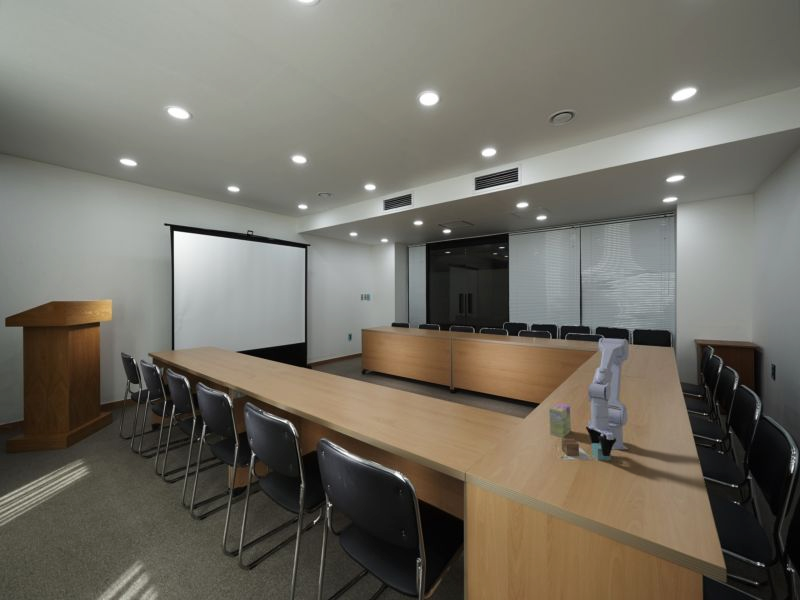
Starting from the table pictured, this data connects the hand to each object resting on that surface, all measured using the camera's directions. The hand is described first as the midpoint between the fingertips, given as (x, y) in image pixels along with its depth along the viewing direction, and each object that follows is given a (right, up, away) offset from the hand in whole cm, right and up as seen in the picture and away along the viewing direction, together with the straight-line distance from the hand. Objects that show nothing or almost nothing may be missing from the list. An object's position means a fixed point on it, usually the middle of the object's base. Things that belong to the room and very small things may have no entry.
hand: (600, 451), depth 123 cm
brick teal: (0, -3, 0) cm, 3 cm away
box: (-4, -3, +24) cm, 24 cm away
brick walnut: (-10, -3, +4) cm, 11 cm away
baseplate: (-10, -3, +4) cm, 11 cm away
